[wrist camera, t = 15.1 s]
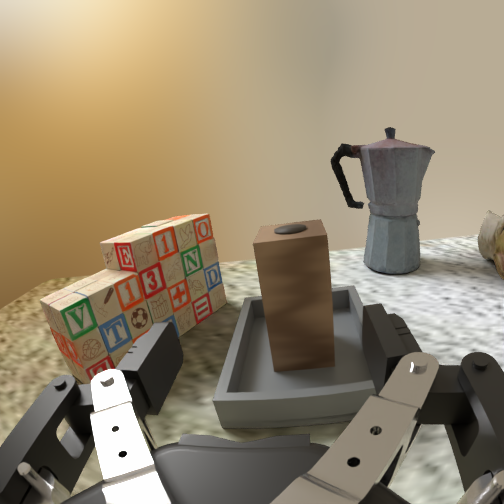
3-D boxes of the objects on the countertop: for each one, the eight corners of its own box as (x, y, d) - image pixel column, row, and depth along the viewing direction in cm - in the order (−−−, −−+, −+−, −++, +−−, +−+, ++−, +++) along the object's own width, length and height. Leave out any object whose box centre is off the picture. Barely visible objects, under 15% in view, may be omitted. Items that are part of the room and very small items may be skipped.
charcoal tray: (222, 428, 20) (212, 400, 19) (249, 321, 35) (244, 297, 34) (390, 413, 18) (395, 384, 17) (354, 309, 33) (354, 285, 32)
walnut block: (274, 371, 24) (252, 241, 21) (277, 339, 29) (260, 224, 26) (334, 366, 23) (326, 232, 20) (329, 334, 28) (320, 217, 25)
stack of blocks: (97, 397, 24) (45, 276, 20) (71, 375, 27) (28, 270, 24) (228, 302, 41) (209, 211, 37) (194, 297, 44) (175, 214, 41)
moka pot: (445, 273, 36) (440, 123, 30) (339, 280, 41) (323, 130, 36) (430, 251, 45) (423, 128, 39) (342, 256, 50) (328, 134, 44)
